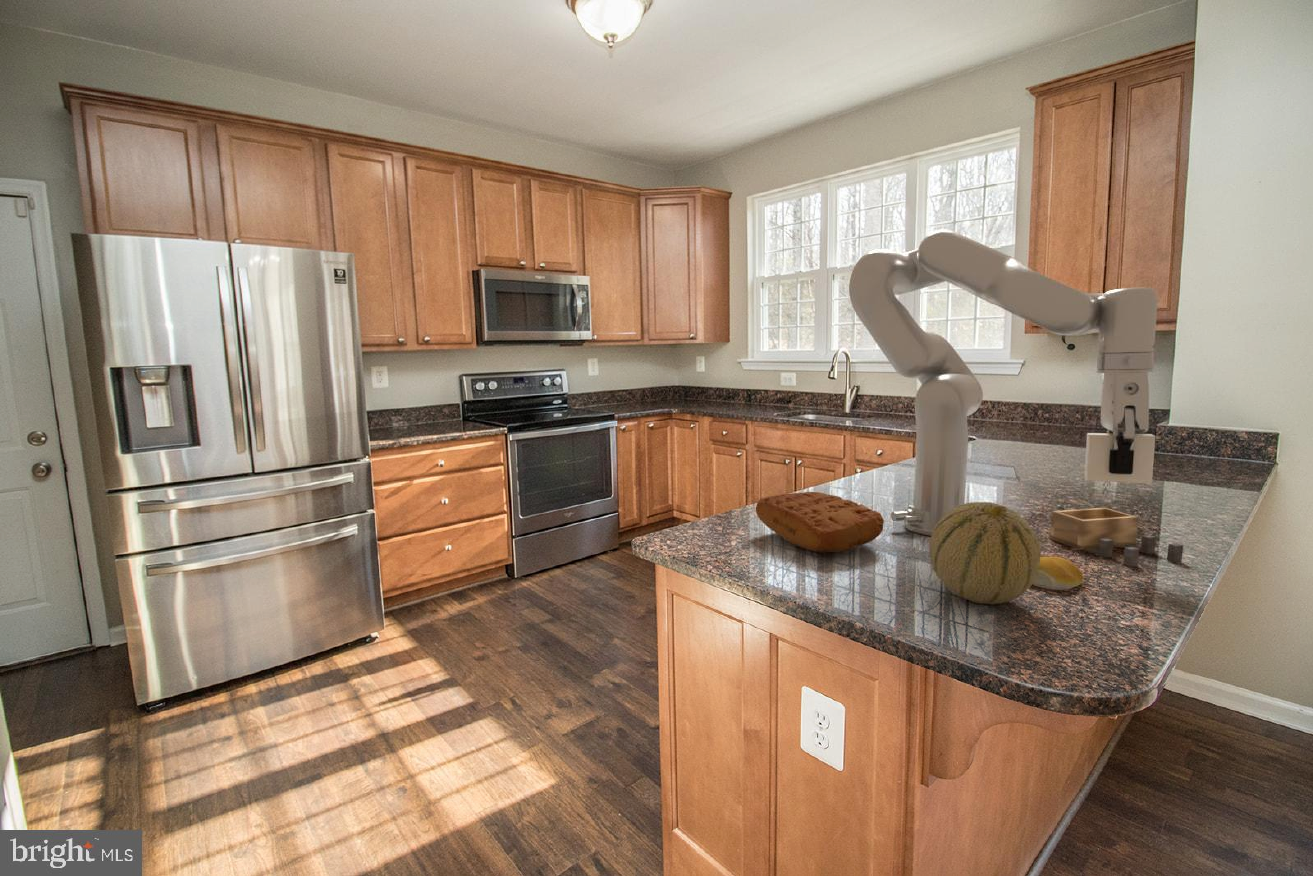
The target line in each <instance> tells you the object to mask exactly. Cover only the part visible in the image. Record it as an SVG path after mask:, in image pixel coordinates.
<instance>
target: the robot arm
mask: <svg viewBox="0 0 1313 876" xmlns="http://www.w3.org/2000/svg"><path fill="white" fill-rule="evenodd" d="M944 282H946V283H949V284H951V285H954V286H955V287H957V288H958V289H959V288H960V289H962V290H964V291H966V292H968V293H970V294H971V295H974V296H976V297H977V298H979V299H981V300H983V301H985V302H987V303H988V304H991V305H994V306H998V307H999V308H1001V309H1004V310H1005V311H1007V312H1008V313H1011V314H1013V315H1015V316H1016V317H1019V318H1021V319H1023V320H1024V321H1027V322H1029V323H1031V324H1033V325H1035V326H1037V327H1039V328H1042V329H1043V330H1045V331H1047V332H1050V333H1052V334H1055V335H1059V336H1071V337H1076V336H1083V335H1088V334H1095V333H1098V342H1097V343H1098V344H1097V364H1096V373H1097V374H1103V380H1102V391H1101V401H1100V403H1101V404H1100V424H1101V427H1103V428H1105V429H1106V433H1111V434H1113V444H1112V449H1113V450H1110V458H1109V472H1110V473H1111V474H1132V473H1133V459H1134V439H1135V434H1136V431H1137V432H1139V433H1140V434H1146V432H1148V431H1149V420H1150V417H1149V415H1150V411H1149V410H1150V384H1149V374H1148V373H1153V372H1154V369H1153V368H1154V360H1155V359H1154V356H1155V352H1154V351H1155V344H1156V343H1155V340H1156V329H1157V328H1156V327H1157V313H1158V311H1157V310H1158V293H1157V291H1156V290H1155V289H1154V288H1151V287H1139V286H1138V287H1126V288H1117V289H1112V290H1111V289H1110V290H1108V291H1105V293H1103V292H1102V293H1100V292H1099V293H1098V292H1097V293H1094V292H1091V293H1090V292H1084V291H1081V290H1078V289H1076V288H1074V287H1071V286H1069V285H1067V284H1064V283H1061V282H1059V281H1057V280H1055V279H1053V278H1050V277H1048V276H1046V275H1044V274H1042V273H1039V272H1037V271H1035V270H1032V269H1031V268H1029V267H1027V266H1025V265H1024V264H1022V263H1021V261H1019V260H1018V259H1017V258H1014V257H1012V256H1010V255H1008V254H1007V253H1004V252H1001V251H999V250H996V249H994V248H992V247H990V246H987V245H985V244H983V243H980V242H978V241H975V240H974V239H971V238H969V237H968V236H965V235H963V234H960V233H957V232H956V231H953V230H949V229H939V230H938V229H937V230H935V231H933V232H931V233H929V234H927V235H926V236H925V237H924V238H923V239H922V241H920V244H919V246H918V248H916V249H914V250H911V251H908V252H905V253H900V252H897V251H893V250H890V249H889V250H888V249H874V250H871V251H869V252H866V253H865V254H864V255H862V257H860V259H859V260H857V261H856V263H855V265H854V266H853V269H852V271H851V274H850V278H849V283H848V293H849V294H848V295H849V299H850V303H851V306H852V308H853V310H854V312H855V314H856V316H857V318H858V319H859V320H860V322H861V323H862V324H863V325H864V327H865V329H867V332H868V333H869V334H870V335H871V337H872V338H873V341H874V342H875V344H876V345H877V346H878V347H879V349H880V350H881V352H882V353H883V354H884V356H885V357H886V359H887V360H888V362H889V363H890V365H891V366H892V368H893V369H894V370H895V371H896V373H897V374H898V375H900V376H902V377H905V378H909V379H917V380H918V381H919V382H920V384H921V385H920V387H919V388H918V389H917V392H916V394H915V398H914V417H915V429H916V431H915V434H916V435H915V436H916V437H915V438H916V440H915V461H914V462H915V464H914V481H913V482H914V483H913V501H912V502H913V503H912V504H913V505H912V504H911V505H908V508H907V509H905V510H904V511H899V510H898V511H892V512H891V513H890V519H891V521H893V522H900V521H901V522H902V521H903V522H904V523H903V525H904V527H905V528H906V529H907V530H909V531H911V532H913V531H914V532H913V533H916V532H917V533H916V534H920V535H924V536H930V537H931V536H932V532H933V530H934V528H935V526H936V524H937V523H938V521H939V520H940V519H941V518H942V517H943V516H944V515H945V514H946V513H948V512H949V511H950V510H952V509H953V508H955V507H957V506H960V505H962V504H966V501H965V500H966V487H967V473H968V471H967V470H968V456H969V455H968V453H969V452H968V451H969V430H968V429H969V427H968V417H970V416H971V415H973V414H974V413H975V412H976V411H978V409H979V408H980V407H981V405H982V402H983V396H984V395H983V389H982V386H981V384H980V382H979V380H978V378H977V377H976V376H975V375H974V373H973V372H972V371H971V369H970V368H969V366H967V364H966V362H965V361H964V360H963V359H962V357H961V356H960V354H959V353H958V352H957V351H956V350H955V348H954V347H953V345H952V344H950V342H949V341H948V340H946V339H945V338H944V337H943V336H942V335H939V334H938V333H934V332H929V331H926V330H924V329H923V328H922V327H921V326H920V325H919V324H918V323H917V322H916V320H915V319H914V318H913V316H912V315H911V313H910V312H909V310H908V309H907V308H906V307H905V306H904V305H903V303H902V302H901V301H900V300H899V299H898V298H897V297H896V295H902V294H908V293H911V292H915V291H919V290H921V289H924V288H925V289H926V288H928V287H931V286H935V285H938V284H941V283H944ZM1118 435H1119V436H1120V437H1119V438H1118Z"/></svg>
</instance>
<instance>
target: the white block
mask: <svg viewBox="0 0 1313 876" xmlns="http://www.w3.org/2000/svg"><path fill="white" fill-rule="evenodd" d="M1119 437H1120V436H1119V435H1118V438H1119ZM1085 442H1086V444H1085V463H1084V480H1086V482H1087V481H1089V482H1109V483H1110V482H1111V483H1128V484H1129V483H1131V484H1134V483H1135V484H1153V476H1154V475H1153V474H1154V460H1155V448H1156V447H1155V446H1156V435H1153V434H1151V433H1135V439H1134V459H1133V473H1132V474H1111V473H1110V472H1109V458H1110V450H1113V449H1112V444H1113V434H1111V433H1107V432H1106V433H1105V432H1104V433H1102V432H1101V433H1100V432H1095V433H1094V432H1091V433H1090V432H1087V433H1086V441H1085Z"/></svg>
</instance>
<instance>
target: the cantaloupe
mask: <svg viewBox="0 0 1313 876" xmlns="http://www.w3.org/2000/svg"><path fill="white" fill-rule="evenodd" d="M928 546H929V551H928V553H929V561H930V564H931V567H932V571H933V572H934V574H935V576H937V578H938V579H939V581H940V582H941V583H942V584H943V585H944V587H946V588H947V590H949V592H952V594H954V595H957V596H958V597H960V598H962V599H965V600H967V601H971V602H973V603H978V604H988V605H997V604H1003V603H1008V602H1010V601H1012V600H1015V599H1017V598H1019V597H1020V596H1022V595H1023V594H1024V593H1025V592H1027V591H1028V590H1029V588H1031V586H1033V585H1032V583H1033V582H1034V580H1035V577H1036V575H1037V572H1038V567H1039V563H1040V557H1041V552H1042V550H1041V546H1040V541H1039V538H1038V537H1037V534H1036V533H1035V530H1034V529H1033V528H1032V527H1031V525H1030V524H1029V522H1028V521H1026V519H1024V518H1023V517H1022V516H1020V514H1019V513H1018V512H1016V511H1014V510H1012V509H1010V508H1009V507H1007V506H1004V505H1001V504H998V503H996V502H990V501H989V502H987V501H984V502H983V501H982V502H980V501H979V502H978V501H976V502H973V501H972V502H965V504H962V505H960V506H957V507H955V508H953V509H952V510H950V511H949V512H948V513H946V514H945V515H944V516H943V517H942V518H941V519H940V520H939V521H938V523H937V524H936V526H935V528H934V530H933V532H932V536H930V540H929V545H928Z"/></svg>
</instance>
